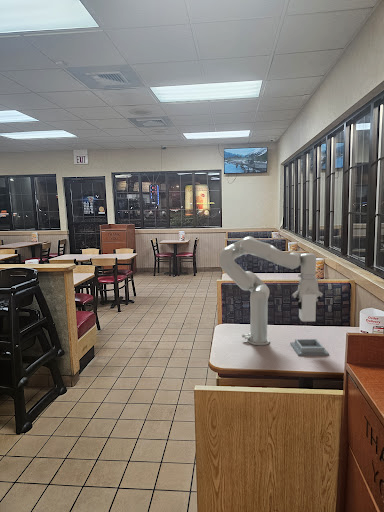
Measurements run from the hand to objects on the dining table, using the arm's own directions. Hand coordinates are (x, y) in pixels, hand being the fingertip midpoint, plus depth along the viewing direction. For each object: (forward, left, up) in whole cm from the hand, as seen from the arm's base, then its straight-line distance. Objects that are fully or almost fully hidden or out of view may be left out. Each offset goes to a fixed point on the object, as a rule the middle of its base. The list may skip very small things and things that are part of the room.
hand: (307, 308), depth 192 cm
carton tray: (+1, -4, -22) cm, 22 cm away
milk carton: (0, 0, -7) cm, 7 cm away
